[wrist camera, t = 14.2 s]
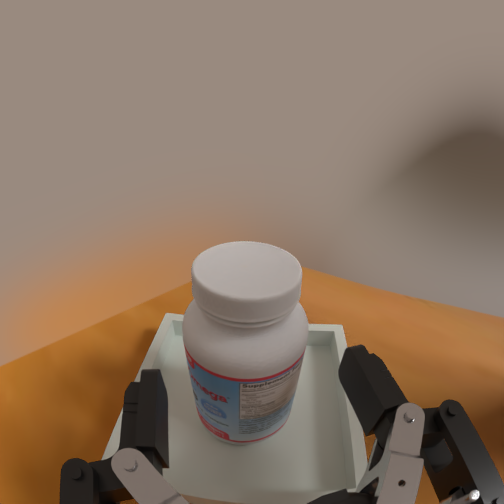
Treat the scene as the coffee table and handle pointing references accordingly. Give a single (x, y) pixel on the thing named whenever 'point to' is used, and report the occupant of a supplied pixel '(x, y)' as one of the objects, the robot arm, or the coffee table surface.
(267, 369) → the pill bottle
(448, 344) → the coffee table surface
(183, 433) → the tray
